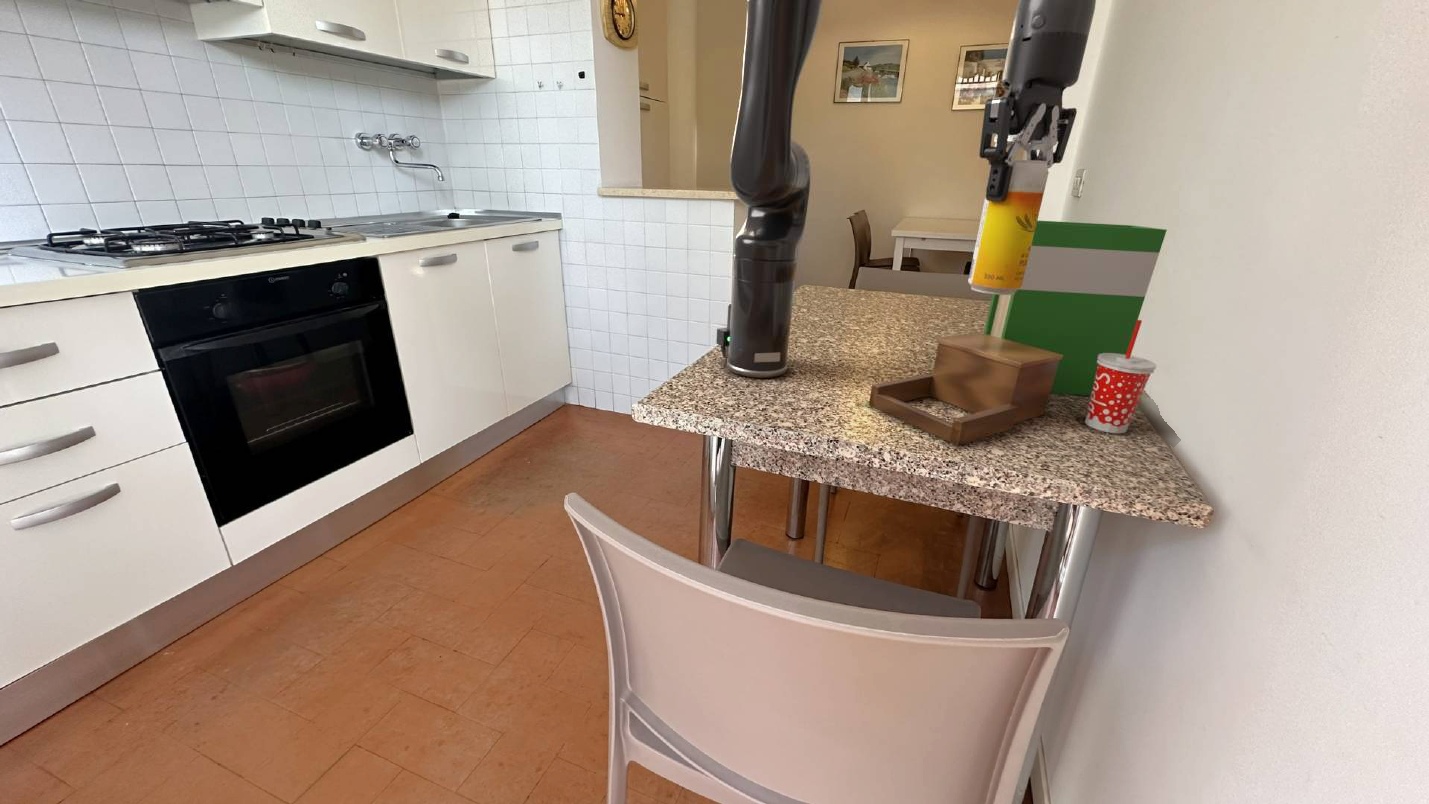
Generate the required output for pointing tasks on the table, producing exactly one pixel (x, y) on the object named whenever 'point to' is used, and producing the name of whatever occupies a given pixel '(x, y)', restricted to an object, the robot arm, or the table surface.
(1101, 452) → the table surface
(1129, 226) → the hardback book
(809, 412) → the table surface
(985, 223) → the beer can
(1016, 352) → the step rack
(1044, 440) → the table surface
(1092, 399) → the beverage cup
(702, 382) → the table surface
